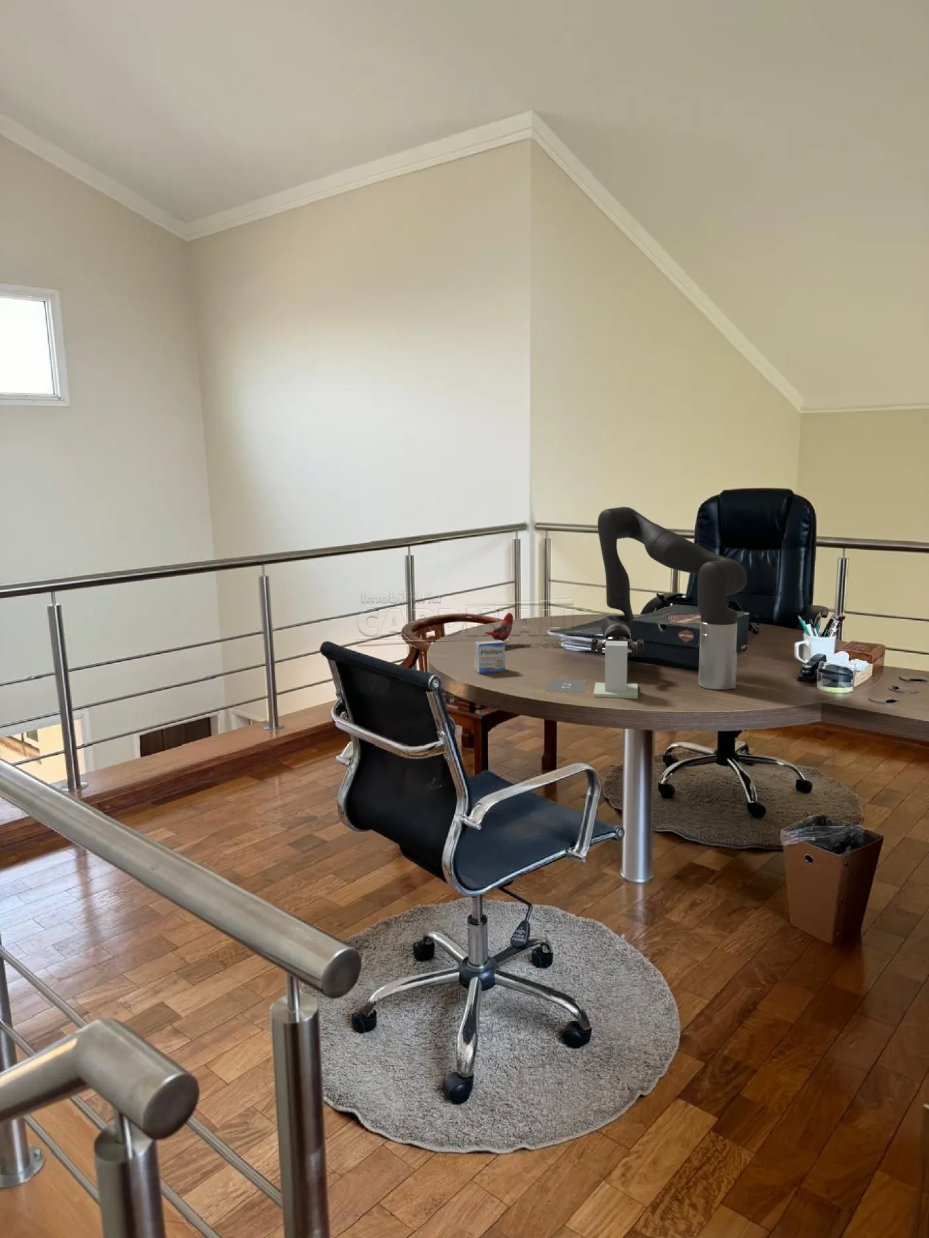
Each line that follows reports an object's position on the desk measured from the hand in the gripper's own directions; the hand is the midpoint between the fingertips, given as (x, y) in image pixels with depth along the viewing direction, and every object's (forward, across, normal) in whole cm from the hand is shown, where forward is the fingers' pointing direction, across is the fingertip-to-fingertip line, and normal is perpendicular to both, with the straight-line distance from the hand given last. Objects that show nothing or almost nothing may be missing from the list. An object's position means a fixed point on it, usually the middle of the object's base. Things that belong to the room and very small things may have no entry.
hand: (617, 651), depth 231 cm
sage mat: (+9, 0, +9) cm, 12 cm away
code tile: (+5, -13, +9) cm, 16 cm away
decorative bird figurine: (-42, -38, +9) cm, 57 cm away
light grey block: (+9, 0, +8) cm, 12 cm away
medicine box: (-10, -36, +9) cm, 38 cm away
